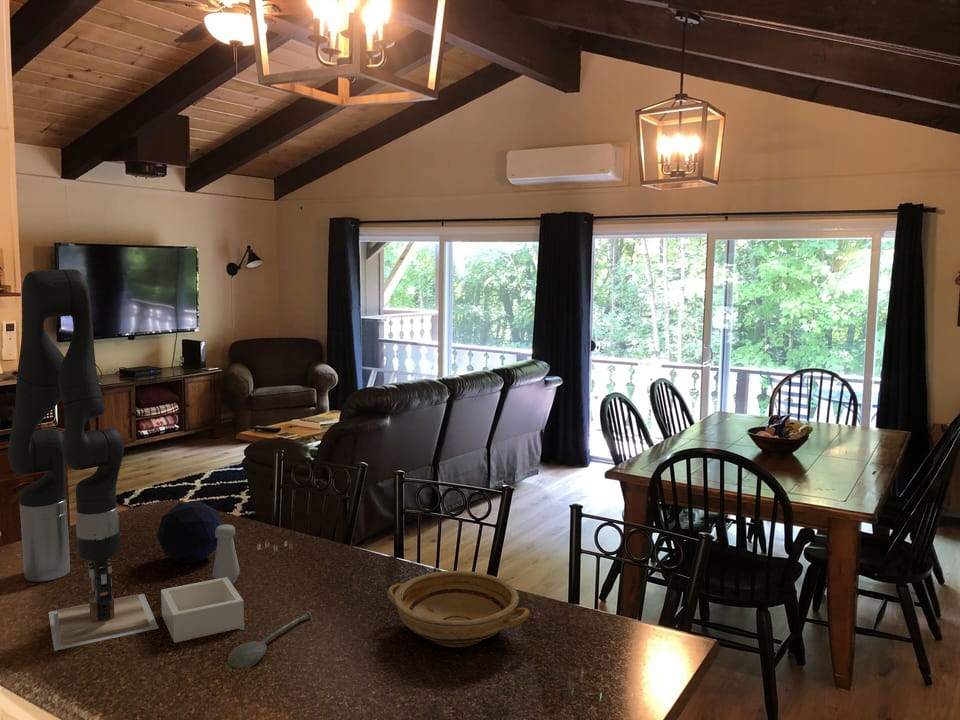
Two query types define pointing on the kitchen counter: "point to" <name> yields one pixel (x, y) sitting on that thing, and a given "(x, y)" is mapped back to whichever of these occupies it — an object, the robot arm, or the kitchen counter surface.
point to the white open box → (202, 609)
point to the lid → (85, 623)
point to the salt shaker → (225, 554)
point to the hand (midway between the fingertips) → (102, 612)
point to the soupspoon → (255, 648)
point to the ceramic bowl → (457, 606)
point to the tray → (59, 645)
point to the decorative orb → (189, 532)
